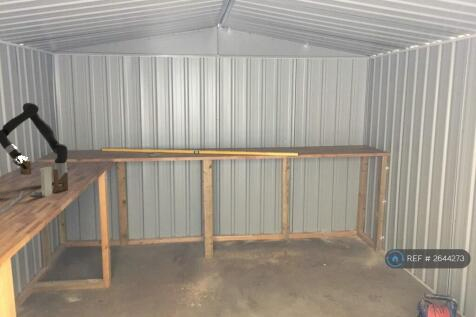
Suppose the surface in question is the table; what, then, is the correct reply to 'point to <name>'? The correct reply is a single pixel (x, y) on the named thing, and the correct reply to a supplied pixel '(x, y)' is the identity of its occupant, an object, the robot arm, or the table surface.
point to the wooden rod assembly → (63, 179)
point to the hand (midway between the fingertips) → (28, 168)
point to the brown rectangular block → (28, 170)
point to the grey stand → (45, 183)
